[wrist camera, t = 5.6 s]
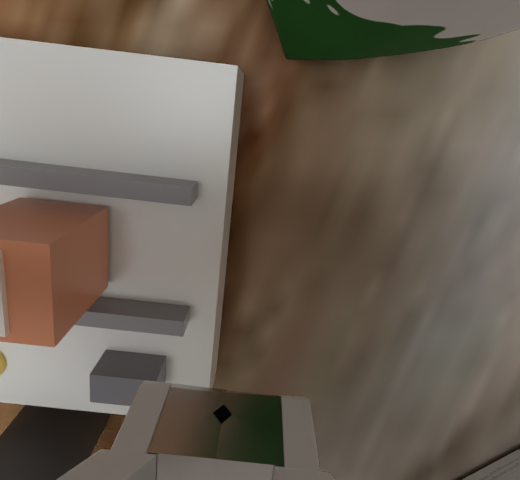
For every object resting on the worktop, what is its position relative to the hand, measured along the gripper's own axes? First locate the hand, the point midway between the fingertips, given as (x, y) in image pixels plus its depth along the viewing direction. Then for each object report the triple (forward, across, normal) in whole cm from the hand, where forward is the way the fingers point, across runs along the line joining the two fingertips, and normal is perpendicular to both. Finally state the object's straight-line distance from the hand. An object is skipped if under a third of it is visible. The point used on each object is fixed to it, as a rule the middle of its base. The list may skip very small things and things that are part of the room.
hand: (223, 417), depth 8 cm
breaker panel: (+12, -6, 0) cm, 13 cm away
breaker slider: (+8, -6, 0) cm, 10 cm away
